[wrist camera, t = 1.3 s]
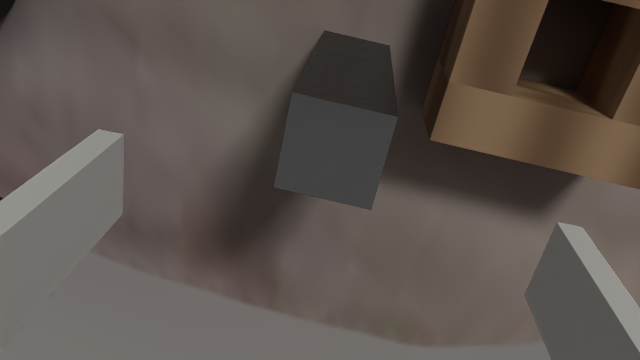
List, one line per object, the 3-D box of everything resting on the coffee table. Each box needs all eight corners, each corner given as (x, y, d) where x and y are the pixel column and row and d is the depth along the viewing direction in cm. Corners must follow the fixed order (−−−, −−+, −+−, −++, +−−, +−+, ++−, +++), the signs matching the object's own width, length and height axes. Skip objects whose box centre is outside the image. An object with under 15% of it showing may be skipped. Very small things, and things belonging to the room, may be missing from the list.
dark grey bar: (311, 93, 36) (273, 187, 23) (324, 30, 34) (291, 92, 21) (372, 107, 36) (371, 209, 23) (389, 45, 35) (398, 116, 21)
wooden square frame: (421, 109, 36) (429, 140, 31) (486, -99, 30) (510, -106, 25) (604, 152, 36) (644, 190, 31) (702, -48, 30) (773, -45, 25)
